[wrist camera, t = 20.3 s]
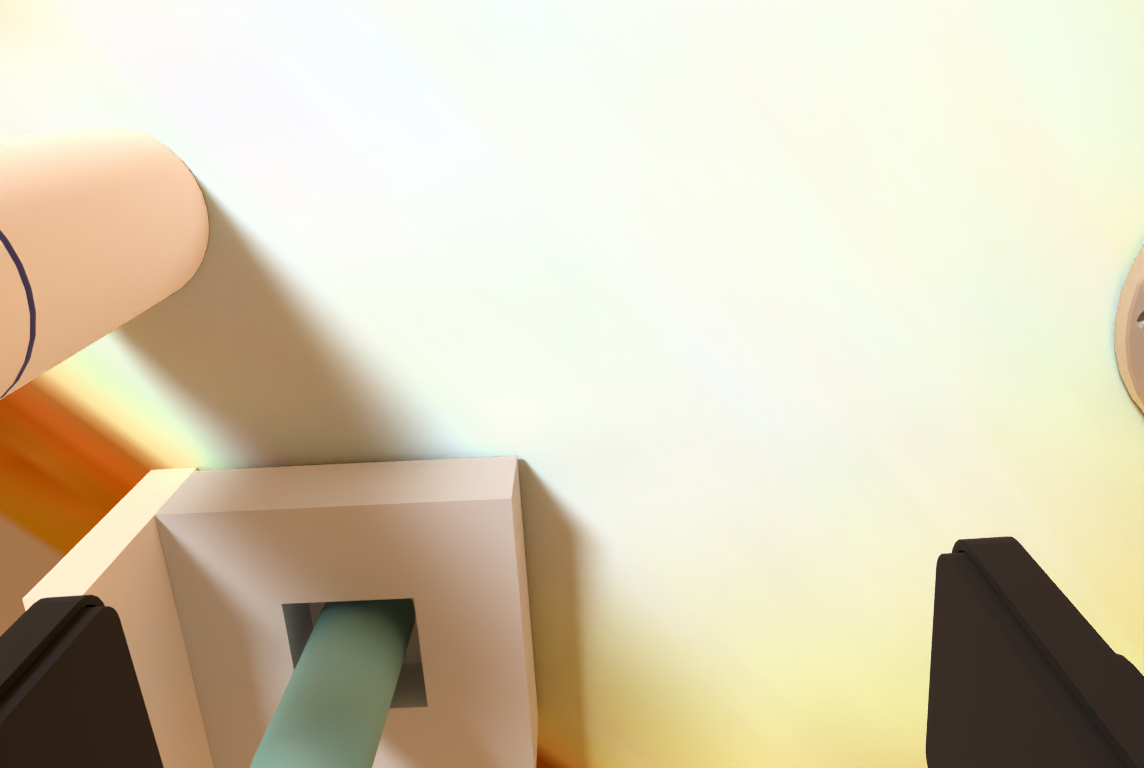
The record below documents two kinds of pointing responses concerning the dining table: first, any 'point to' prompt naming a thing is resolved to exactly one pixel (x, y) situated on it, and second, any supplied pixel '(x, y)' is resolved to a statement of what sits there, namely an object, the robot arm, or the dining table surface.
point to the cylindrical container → (88, 239)
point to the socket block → (361, 598)
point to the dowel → (340, 688)
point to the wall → (141, 611)
